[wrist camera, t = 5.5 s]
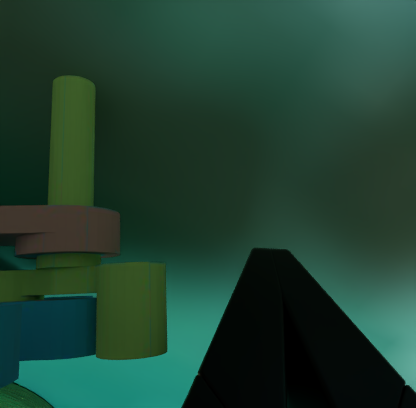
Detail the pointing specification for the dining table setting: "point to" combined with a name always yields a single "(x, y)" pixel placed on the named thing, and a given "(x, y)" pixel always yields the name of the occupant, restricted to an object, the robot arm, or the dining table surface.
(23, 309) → the gear
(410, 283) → the dining table surface
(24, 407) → the gold rounded dome
